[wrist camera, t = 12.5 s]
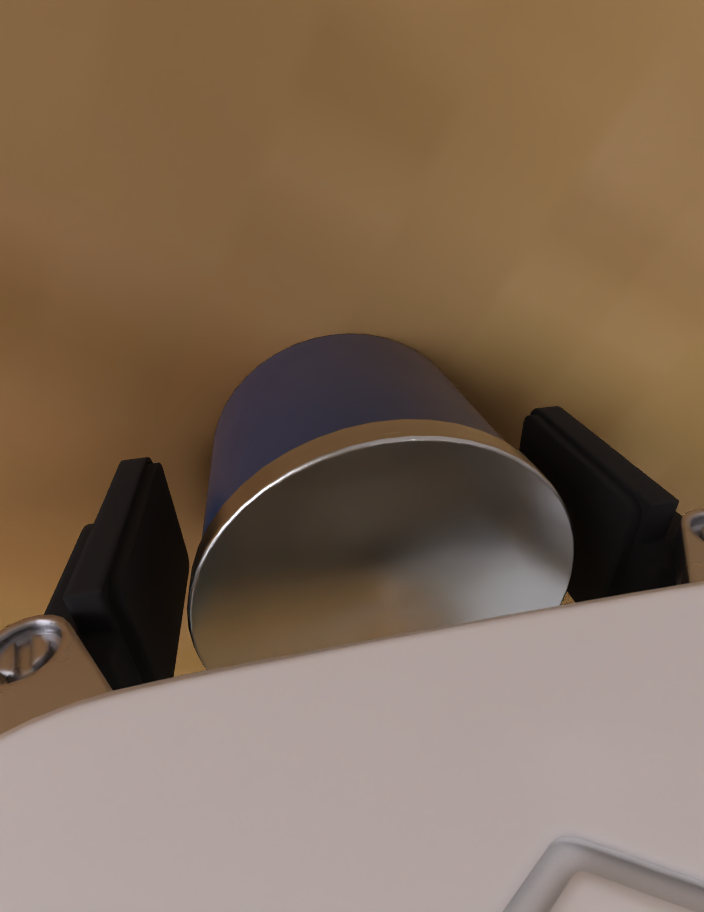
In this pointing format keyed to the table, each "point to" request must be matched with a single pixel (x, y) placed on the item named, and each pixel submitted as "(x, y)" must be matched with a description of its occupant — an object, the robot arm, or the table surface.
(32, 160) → the table surface
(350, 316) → the table surface
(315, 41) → the table surface
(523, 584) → the tin
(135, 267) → the table surface
